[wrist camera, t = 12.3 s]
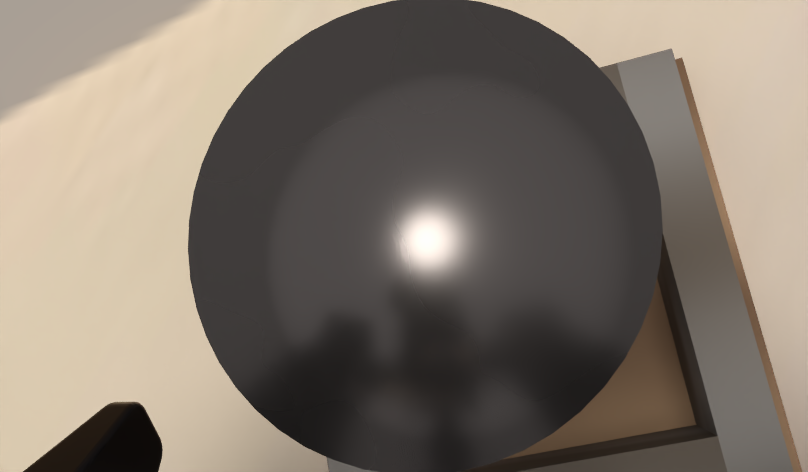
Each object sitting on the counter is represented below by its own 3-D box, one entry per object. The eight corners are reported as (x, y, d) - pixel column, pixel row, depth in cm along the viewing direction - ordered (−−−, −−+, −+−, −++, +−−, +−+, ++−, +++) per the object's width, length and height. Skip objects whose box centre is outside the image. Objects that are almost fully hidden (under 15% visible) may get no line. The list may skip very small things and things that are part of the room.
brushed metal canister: (564, 434, 19) (530, 572, 6) (404, 354, 20) (114, 339, 8) (639, 269, 19) (747, 92, 7) (476, 200, 20) (309, -60, 8)
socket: (802, 492, 18) (854, 523, 15) (361, 562, 20) (315, 604, 17) (679, 66, 20) (699, 5, 17) (293, 168, 22) (241, 132, 19)
